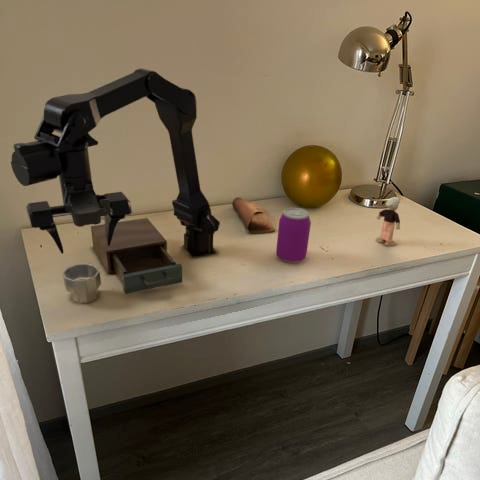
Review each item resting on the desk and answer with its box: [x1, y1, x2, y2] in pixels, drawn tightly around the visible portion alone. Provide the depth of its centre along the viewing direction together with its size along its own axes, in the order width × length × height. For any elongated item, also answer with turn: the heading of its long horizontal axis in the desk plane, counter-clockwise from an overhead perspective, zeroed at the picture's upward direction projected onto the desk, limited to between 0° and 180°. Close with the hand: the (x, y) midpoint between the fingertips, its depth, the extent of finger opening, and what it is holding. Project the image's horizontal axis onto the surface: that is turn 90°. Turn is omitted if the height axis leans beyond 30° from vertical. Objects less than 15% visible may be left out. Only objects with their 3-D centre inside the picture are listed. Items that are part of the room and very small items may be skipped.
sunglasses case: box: [231, 196, 275, 234], centre depth 145 cm, size 18×7×7 cm
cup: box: [62, 263, 102, 304], centre depth 107 cm, size 7×8×6 cm
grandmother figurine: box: [376, 196, 401, 246], centre depth 135 cm, size 8×4×13 cm, turn 47°
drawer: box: [110, 245, 183, 295], centre depth 114 cm, size 17×13×4 cm
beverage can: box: [275, 207, 312, 264], centre depth 125 cm, size 8×8×12 cm
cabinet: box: [90, 217, 168, 275], centre depth 123 cm, size 14×14×6 cm
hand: (85, 248), depth 102 cm, fingers open, 9 cm apart
